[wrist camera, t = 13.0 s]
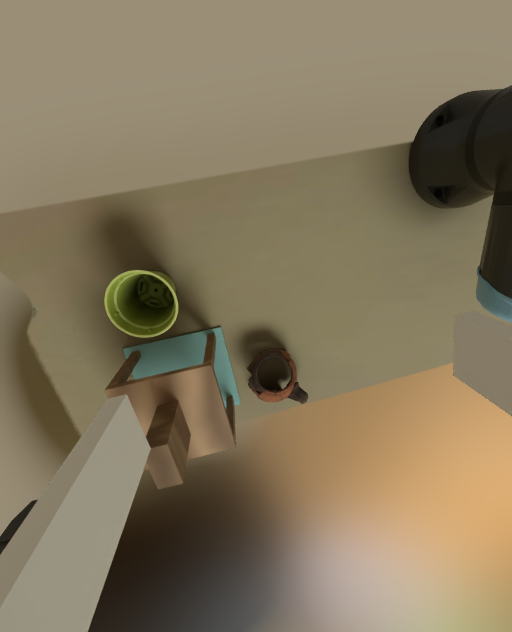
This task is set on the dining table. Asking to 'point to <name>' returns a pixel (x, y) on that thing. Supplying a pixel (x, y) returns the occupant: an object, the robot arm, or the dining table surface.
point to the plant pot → (141, 303)
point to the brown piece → (178, 414)
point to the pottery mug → (274, 396)
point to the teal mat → (186, 358)
